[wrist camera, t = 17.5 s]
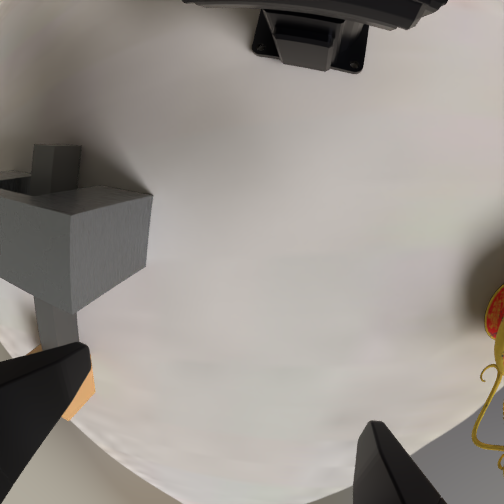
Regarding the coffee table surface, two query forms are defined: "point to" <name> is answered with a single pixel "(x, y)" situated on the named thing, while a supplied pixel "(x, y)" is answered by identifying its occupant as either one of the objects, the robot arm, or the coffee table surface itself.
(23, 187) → the grey piece
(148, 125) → the coffee table surface
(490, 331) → the magic lamp
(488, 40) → the coffee table surface
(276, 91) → the coffee table surface
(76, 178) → the plug
